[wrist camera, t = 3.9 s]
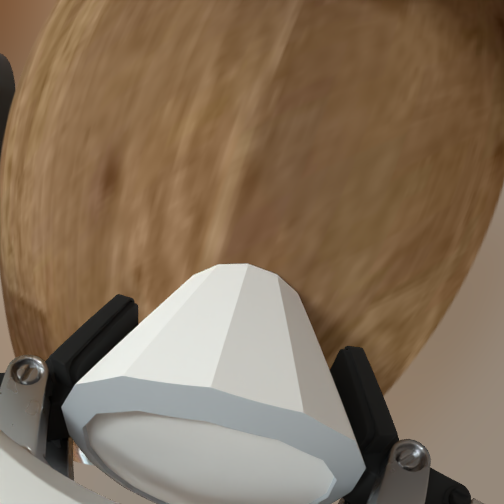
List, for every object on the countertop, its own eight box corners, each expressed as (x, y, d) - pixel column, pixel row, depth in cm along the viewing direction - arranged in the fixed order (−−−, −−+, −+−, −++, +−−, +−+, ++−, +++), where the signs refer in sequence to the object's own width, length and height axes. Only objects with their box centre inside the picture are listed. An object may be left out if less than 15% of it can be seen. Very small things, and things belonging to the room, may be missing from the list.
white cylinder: (159, 371, 12) (100, 487, 5) (160, 232, 10) (19, 324, 3) (300, 396, 12) (308, 528, 5) (343, 263, 10) (434, 404, 3)
